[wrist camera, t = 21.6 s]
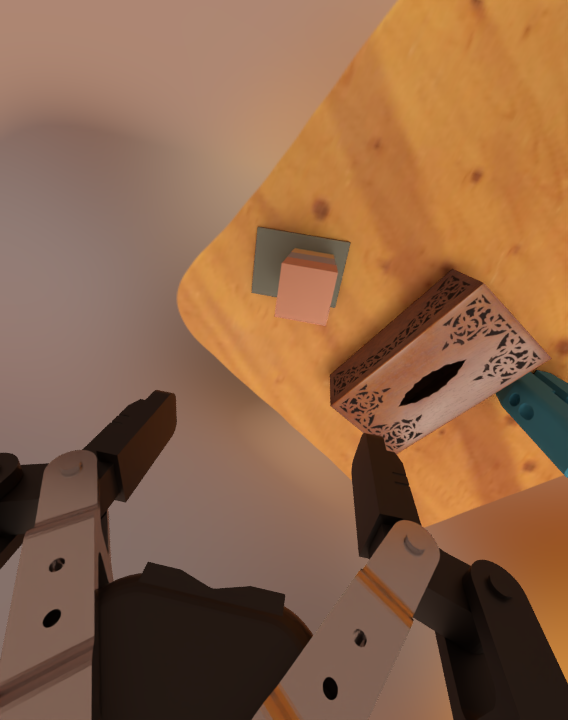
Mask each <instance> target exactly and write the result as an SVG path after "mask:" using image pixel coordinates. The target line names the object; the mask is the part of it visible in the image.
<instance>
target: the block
mask: <svg viewBox="0 0 568 720" xmlns="http://www.w3.org/2000/svg"><path fill="white" fill-rule="evenodd" d="M496 395H497V397H498V399H499V401H500V403H501V405H502V407H503V408H504V409H505V410H506V411H507V412H508V413H509V414H510V416H511V417H512V418H513V419H514V420H515V421H516V422H517V423H518V424H519V425H520V427H521V428H522V429H523V430H524V431H525V432H526V433H527V434H528V435H529V437H530V438H531V439H532V440H533V441H534V442H535V443H536V444H537V445H538V446H539V448H540V449H541V450H542V451H543V452H544V453H545V454H546V455H547V456H548V458H549V459H550V460H551V461H552V462H553V463H554V464H555V465H556V466H557V468H558V469H559V470H560V471H561V472H562V473H563V474H564V475H565V476H566V477H567V478H568V383H566V382H565V381H563V380H561V379H559V378H558V377H556V376H554V375H553V374H551V373H548V372H543V371H539V370H537V371H536V372H535V373H534V374H532V373H531V372H529V373H527V374H526V375H524V376H522V377H521V378H519V379H518V380H516V381H514V382H513V383H511V384H509V385H508V386H506V387H505V388H503V389H501V390H500V391H498V392H496Z"/></svg>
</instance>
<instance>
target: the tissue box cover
mask: <svg viewBox="0 0 568 720" xmlns="http://www.w3.org/2000/svg"><path fill="white" fill-rule="evenodd" d="M550 359H552V358H551V357H550V356H549V355H548V354H547V353H546V352H545V351H544V350H543V348H542V347H541V346H540V345H539V344H538V343H537V342H536V341H535V340H534V338H533V337H532V336H531V335H530V334H529V333H528V332H527V331H526V330H525V328H524V327H523V326H522V325H521V324H520V323H519V322H518V321H517V320H516V318H515V317H514V316H513V315H512V314H511V313H510V312H509V311H508V310H507V308H506V307H505V306H504V305H503V304H502V303H501V302H500V301H499V300H498V298H497V297H496V296H495V295H494V294H493V293H492V292H491V291H490V289H489V288H488V287H487V286H486V285H485V284H484V283H482V282H480V281H478V280H476V279H473V278H471V277H469V276H467V275H464V274H462V273H460V272H458V271H455V270H453V269H452V270H451V271H450V272H449V273H448V274H446V275H445V276H444V277H443V278H442V279H441V280H439V281H438V282H437V283H436V284H435V285H434V286H433V287H431V288H430V289H429V290H428V291H427V292H426V293H424V294H423V295H422V296H421V297H420V298H419V299H417V300H416V301H415V302H414V303H413V304H412V305H411V306H409V307H408V308H407V309H406V310H405V311H404V312H402V313H401V314H400V315H399V316H398V317H397V318H395V319H394V320H393V321H392V322H391V323H390V324H389V325H387V326H386V327H385V328H384V329H383V330H382V331H380V332H379V333H378V334H377V335H376V336H375V337H374V338H372V339H371V340H370V341H369V342H368V343H367V344H365V345H364V346H363V347H362V348H361V349H360V350H358V351H357V352H356V353H355V354H354V355H353V356H352V357H350V358H349V359H348V360H347V361H346V362H345V363H343V364H342V365H341V366H340V367H339V368H338V369H337V370H335V371H334V372H333V373H332V374H331V375H330V403H331V407H333V408H334V409H335V410H336V411H337V412H339V413H340V414H341V415H342V416H344V417H345V418H346V419H347V420H348V421H350V422H351V423H352V424H353V425H354V426H356V427H357V428H358V429H359V430H361V431H362V432H363V433H368V434H373V435H378V436H382V437H383V438H384V442H385V446H386V450H387V451H392V452H395V454H398V453H399V452H401V451H402V450H404V449H406V448H407V447H409V446H410V445H412V444H414V443H415V442H417V441H419V440H420V439H422V438H423V437H425V436H427V435H428V434H430V433H432V432H433V431H435V430H436V429H438V428H440V427H441V426H443V425H445V424H446V423H448V422H449V421H451V420H453V419H454V418H456V417H458V416H459V415H461V414H462V413H464V412H466V411H467V410H469V409H471V408H472V407H474V406H475V405H477V404H479V403H480V402H482V401H483V400H485V399H487V398H488V397H490V396H492V395H493V394H495V393H496V392H498V391H500V390H501V389H503V388H505V387H506V386H508V385H509V384H511V383H513V382H514V381H516V380H518V379H519V378H521V377H522V376H524V375H526V374H527V373H529V372H531V371H532V370H534V369H535V368H537V367H539V366H540V365H542V364H543V363H545V362H547V361H548V360H550Z"/></svg>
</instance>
